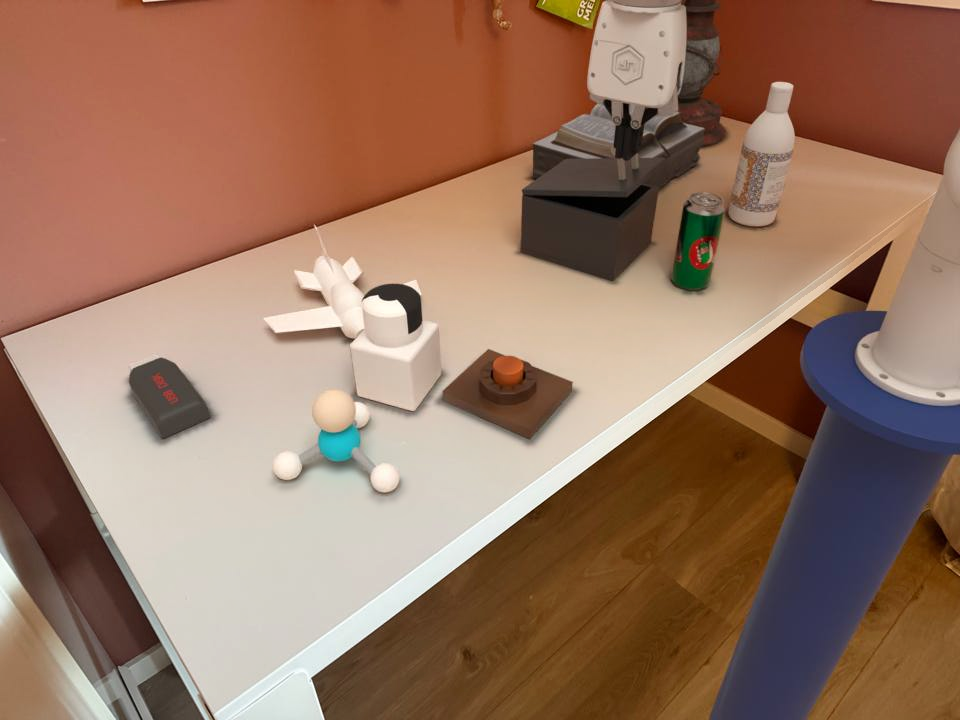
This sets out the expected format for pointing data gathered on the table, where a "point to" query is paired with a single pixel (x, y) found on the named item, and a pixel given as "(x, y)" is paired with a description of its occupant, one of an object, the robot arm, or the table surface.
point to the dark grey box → (589, 229)
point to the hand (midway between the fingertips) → (626, 155)
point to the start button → (508, 371)
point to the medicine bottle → (395, 348)
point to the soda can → (697, 240)
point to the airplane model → (329, 298)
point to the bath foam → (764, 161)
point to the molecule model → (338, 440)
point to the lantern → (701, 70)
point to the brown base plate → (508, 395)
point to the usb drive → (166, 395)
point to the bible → (597, 136)
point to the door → (595, 177)
